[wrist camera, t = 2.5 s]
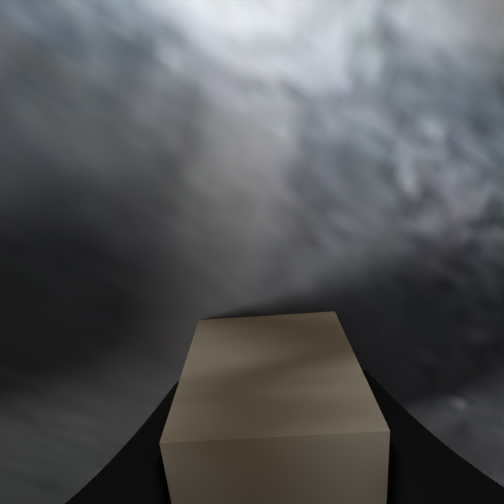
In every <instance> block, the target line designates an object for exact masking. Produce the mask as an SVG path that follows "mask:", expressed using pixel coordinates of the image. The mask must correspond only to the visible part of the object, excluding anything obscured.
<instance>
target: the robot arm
mask: <svg viewBox="0 0 504 504" xmlns="http://www.w3.org/2000/svg"><path fill="white" fill-rule="evenodd" d="M363 374H364V376H365V378H366V380H367V382H368V384H369V387H370V389H371V391H372V393H373V395H374V397H375V399H376V402H377V404H378V406H379V408H380V410H381V412H382V415H383V417H384V419H385V421H386V423H387V425H388V428H389V430H390V442H389V462H388V482H387V502H386V504H504V487H502V486H501V485H499V484H498V483H497V482H495V481H494V480H492V479H491V478H489V477H488V476H486V475H485V474H483V473H482V472H481V471H479V470H478V469H477V468H475V467H474V466H473V465H471V464H470V463H468V462H467V461H466V460H464V459H463V458H462V457H460V456H459V455H458V454H456V453H455V452H454V451H452V450H451V449H450V448H449V447H447V446H446V445H445V444H444V443H442V442H441V441H440V440H439V439H438V438H437V437H435V436H434V435H433V434H432V433H431V432H429V431H428V430H427V429H426V428H425V427H424V426H423V425H421V424H420V423H419V422H418V421H417V420H416V419H415V418H414V417H413V416H412V415H411V414H409V413H408V412H407V411H406V410H405V409H404V408H403V407H402V406H401V405H400V404H399V403H398V402H397V401H396V400H395V399H394V398H393V397H392V396H391V395H390V394H389V393H388V392H387V391H386V390H385V389H384V388H383V387H382V386H381V385H380V384H379V383H378V382H377V381H376V380H375V379H374V378H373V377H372V376H371V375H370V374H369V373H368V372H367V371H366V370H363ZM178 384H179V381H178V382H177V383H176V384H175V385H174V386H173V387H172V389H171V390H170V391H169V393H168V394H167V395H166V397H165V398H164V399H163V400H162V402H161V403H160V404H159V405H158V407H157V408H156V409H155V411H154V412H153V413H152V414H151V416H150V417H149V418H148V419H147V420H146V422H145V423H144V424H143V425H142V426H141V428H140V429H139V430H138V431H137V432H136V434H135V435H134V436H133V437H132V438H131V439H130V440H129V441H128V443H127V444H126V445H125V446H124V447H123V448H122V449H121V450H120V451H119V452H118V454H117V455H116V456H115V457H114V458H113V459H112V460H111V461H110V462H109V463H108V464H107V465H106V466H105V467H104V468H103V469H102V470H101V471H100V472H99V473H98V474H97V475H96V476H95V477H94V478H93V479H92V480H91V481H90V482H89V483H88V484H87V485H86V486H85V487H84V488H83V489H81V490H80V491H79V492H78V493H77V494H76V495H75V496H74V497H72V498H71V499H70V500H69V501H68V502H66V503H65V504H172V503H171V498H170V493H169V489H168V484H167V479H166V474H165V469H164V464H163V459H162V454H161V449H160V444H159V443H160V440H161V437H162V433H163V430H164V427H165V424H166V421H167V418H168V415H169V412H170V409H171V405H172V402H173V399H174V396H175V393H176V390H177V387H178Z"/></svg>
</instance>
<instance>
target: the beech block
mask: <svg viewBox="0 0 504 504" xmlns="http://www.w3.org/2000/svg"><path fill="white" fill-rule="evenodd" d="M389 442H390V430H389V428H388V425H387V423H386V421H385V419H384V417H383V415H382V412H381V410H380V408H379V406H378V404H377V402H376V399H375V397H374V395H373V393H372V391H371V389H370V387H369V384H368V382H367V380H366V378H365V376H364V374H363V371H362V369H361V367H360V365H359V363H358V361H357V358H356V356H355V354H354V352H353V350H352V348H351V345H350V343H349V341H348V339H347V337H346V335H345V333H344V330H343V328H342V326H341V324H340V322H339V320H338V317H337V315H336V313H335V311H331V312H315V313H300V314H284V315H269V316H253V317H238V318H222V319H207V320H199V321H198V325H197V328H196V331H195V334H194V337H193V340H192V343H191V346H190V349H189V353H188V356H187V359H186V362H185V365H184V368H183V371H182V374H181V377H180V381H179V384H178V387H177V390H176V393H175V396H174V399H173V402H172V405H171V409H170V412H169V415H168V418H167V421H166V424H165V427H164V430H163V433H162V437H161V440H160V443H159V444H160V449H161V454H162V459H163V464H164V469H165V474H166V479H167V484H168V489H169V493H170V498H171V503H172V504H386V502H387V482H388V462H389Z"/></svg>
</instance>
